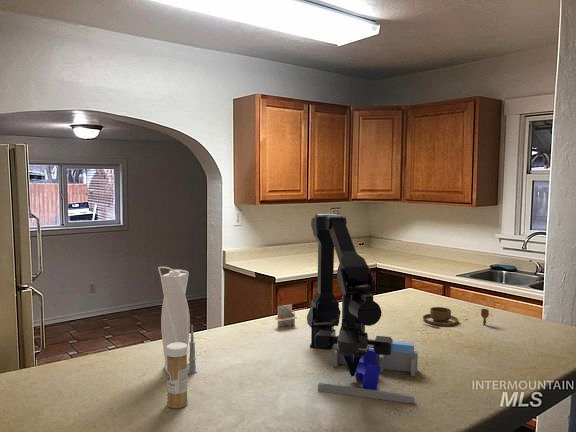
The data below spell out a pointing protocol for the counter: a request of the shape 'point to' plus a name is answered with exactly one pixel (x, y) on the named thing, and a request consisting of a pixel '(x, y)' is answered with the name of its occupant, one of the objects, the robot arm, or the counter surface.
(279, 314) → the architectural model
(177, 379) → the sprinkles bottle
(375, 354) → the cable clip
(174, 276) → the skyscraper
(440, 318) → the place setting
